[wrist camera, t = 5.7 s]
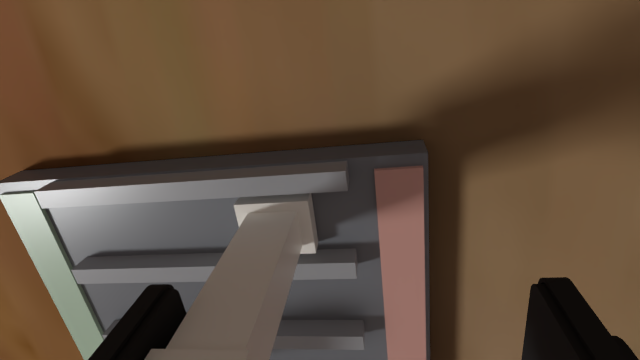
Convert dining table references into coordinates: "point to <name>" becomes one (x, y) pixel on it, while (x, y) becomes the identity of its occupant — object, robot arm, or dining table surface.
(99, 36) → the dining table surface
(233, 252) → the handle
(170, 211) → the panel
